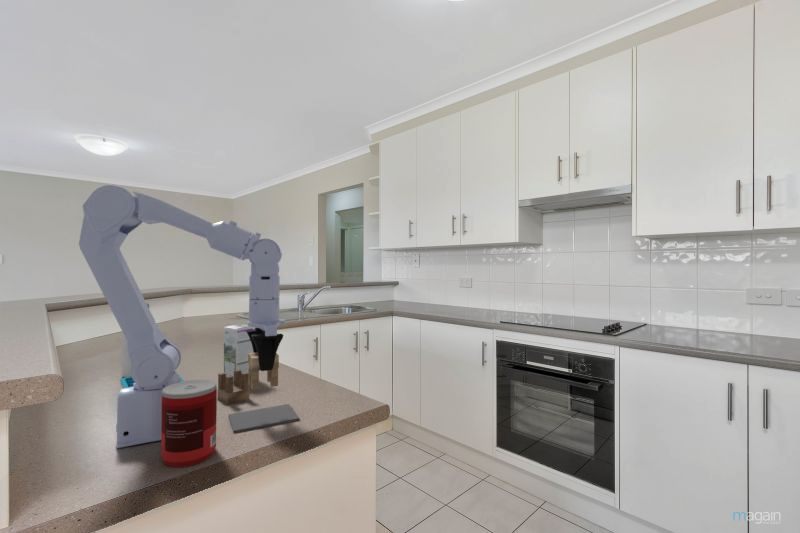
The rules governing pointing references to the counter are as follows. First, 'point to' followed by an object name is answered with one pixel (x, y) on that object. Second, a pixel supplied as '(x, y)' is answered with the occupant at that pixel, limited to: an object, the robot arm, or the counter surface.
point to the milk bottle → (126, 358)
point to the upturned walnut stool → (233, 387)
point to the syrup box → (236, 349)
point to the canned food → (188, 422)
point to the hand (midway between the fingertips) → (263, 366)
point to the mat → (262, 418)
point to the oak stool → (255, 368)
